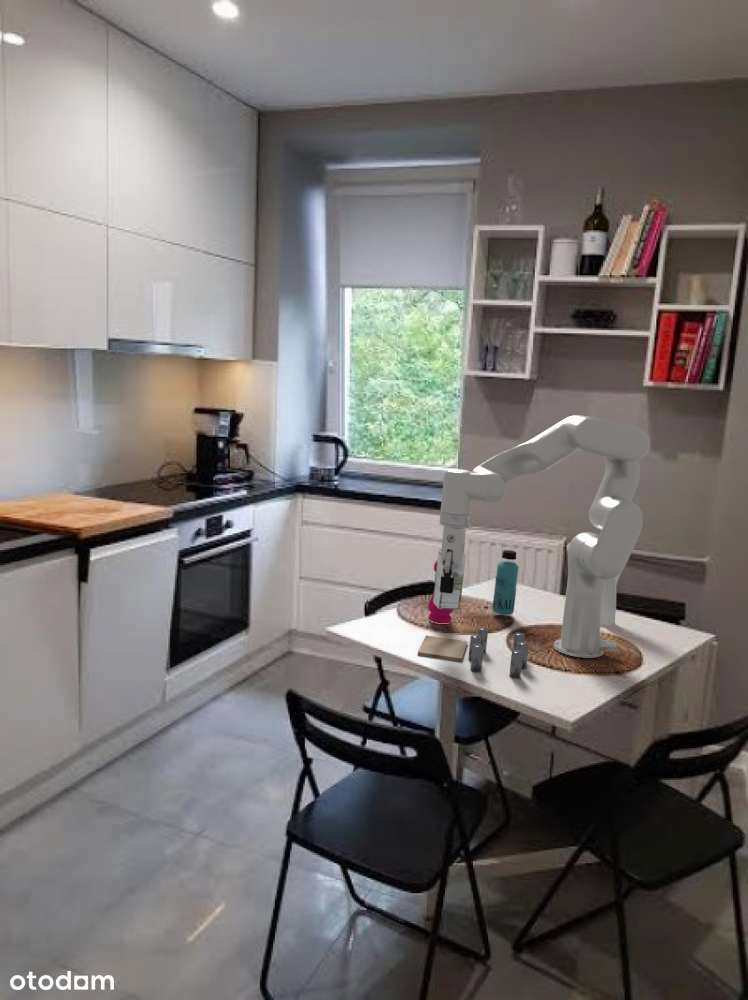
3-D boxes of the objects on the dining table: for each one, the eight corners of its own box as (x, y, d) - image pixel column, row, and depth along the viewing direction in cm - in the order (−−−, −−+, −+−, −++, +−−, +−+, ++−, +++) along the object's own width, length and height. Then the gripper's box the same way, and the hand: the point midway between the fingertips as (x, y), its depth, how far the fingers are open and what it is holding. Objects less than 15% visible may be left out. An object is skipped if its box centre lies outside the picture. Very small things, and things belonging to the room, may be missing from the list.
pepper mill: (443, 627, 210) (450, 557, 206) (422, 621, 214) (428, 552, 211) (457, 621, 215) (463, 553, 212) (435, 615, 220) (441, 548, 216)
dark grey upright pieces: (527, 656, 192) (529, 634, 191) (525, 680, 177) (528, 655, 176) (471, 648, 195) (473, 626, 194) (464, 670, 180) (467, 646, 179)
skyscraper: (608, 629, 219) (620, 535, 214) (584, 622, 224) (596, 530, 219) (619, 623, 225) (631, 532, 220) (596, 617, 230) (607, 527, 225)
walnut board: (467, 644, 198) (467, 641, 198) (461, 661, 185) (461, 658, 185) (425, 638, 200) (426, 635, 200) (417, 654, 187) (417, 651, 187)
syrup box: (454, 603, 194) (459, 548, 192) (460, 610, 188) (466, 553, 186) (432, 602, 193) (437, 547, 191) (438, 609, 187) (443, 553, 185)
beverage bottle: (497, 611, 228) (504, 547, 225) (517, 616, 224) (524, 551, 221) (487, 616, 223) (494, 550, 220) (507, 621, 219) (515, 554, 216)
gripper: (466, 527, 178) (459, 599, 181) (473, 515, 195) (466, 581, 197) (435, 523, 179) (428, 595, 182) (444, 512, 196) (438, 578, 199)
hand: (448, 587), depth 190 cm, fingers closed on syrup box, 7 cm apart
